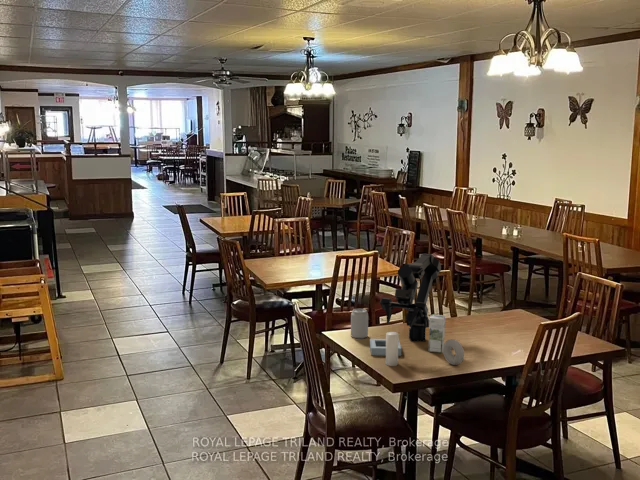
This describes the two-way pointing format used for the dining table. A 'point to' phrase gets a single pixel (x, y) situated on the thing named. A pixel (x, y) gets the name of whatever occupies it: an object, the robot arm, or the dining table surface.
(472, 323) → the dining table surface
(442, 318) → the syrup box
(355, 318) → the can
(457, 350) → the donut
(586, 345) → the dining table surface
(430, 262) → the robot arm
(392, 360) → the white cylinder
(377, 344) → the caddy
